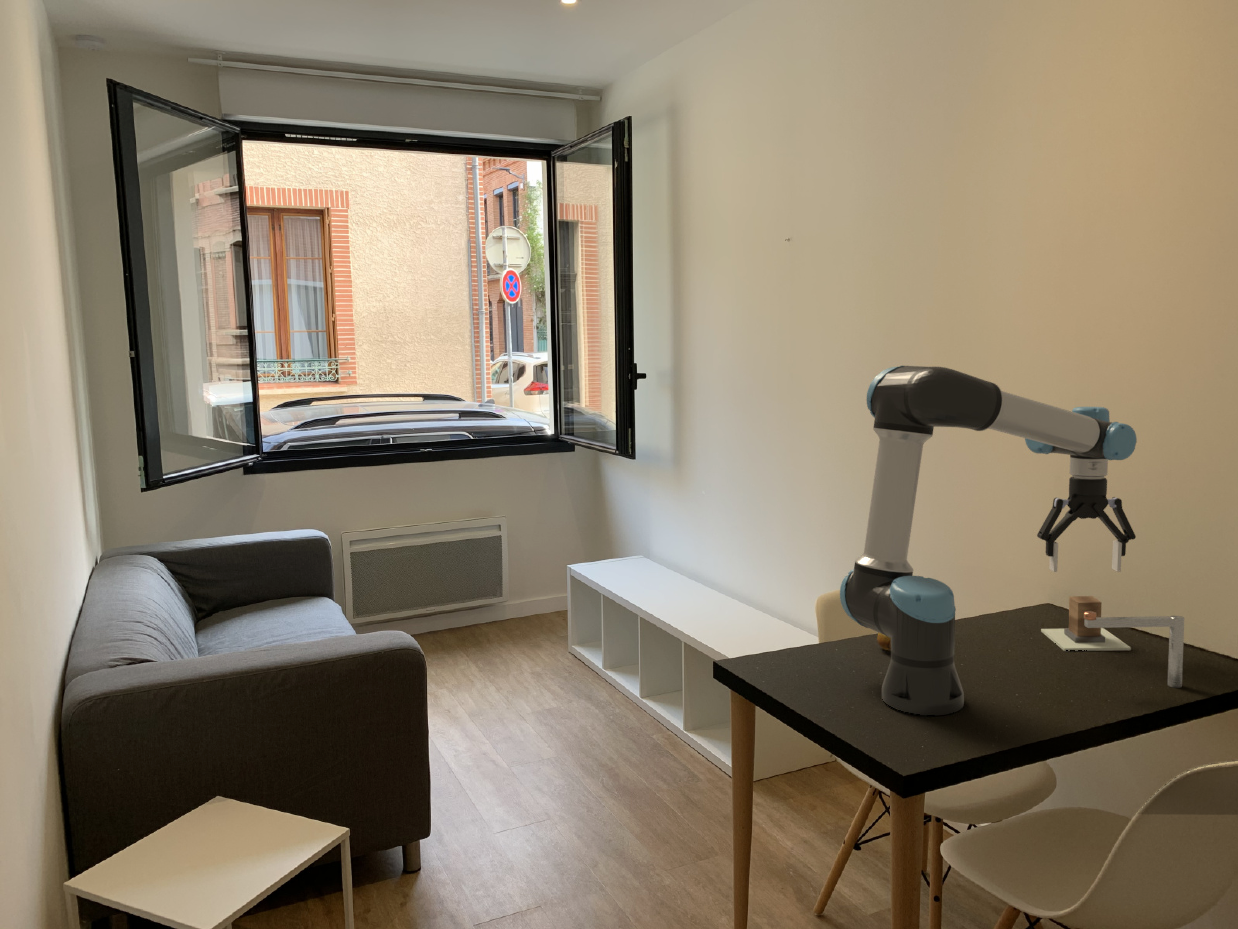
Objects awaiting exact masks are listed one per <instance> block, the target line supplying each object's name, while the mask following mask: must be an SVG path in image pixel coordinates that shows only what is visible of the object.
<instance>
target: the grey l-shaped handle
mask: <svg viewBox="0 0 1238 929" xmlns="http://www.w3.org/2000/svg"><path fill="white" fill-rule="evenodd" d="M1084 619H1085V620H1084V625H1085V626H1086V627H1087V628H1104V629H1105V628H1106V629H1107V628H1112V629H1113V628H1164V627H1165V628H1166V627H1167V628H1169V632H1168V633H1169V637H1168V662H1167V663H1168V664H1167V686H1168V687H1171V688H1174V689H1179V688H1182V686H1183V666H1184V665H1183V664H1184V663H1183V662H1184V639H1185V637H1184V635H1185V617H1184V616H1183V615H1182V616H1181V615H1169V616H1168V615H1165V616H1164V615H1163V616H1162V615H1160V616H1158V615H1157V616H1106V617H1105V616H1103V617H1102V616H1101V617H1096V612H1092V611H1085V612H1084Z"/></svg>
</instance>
